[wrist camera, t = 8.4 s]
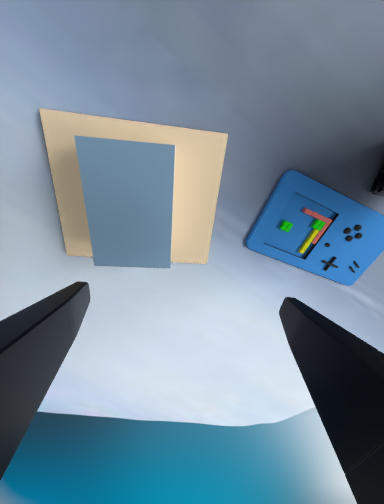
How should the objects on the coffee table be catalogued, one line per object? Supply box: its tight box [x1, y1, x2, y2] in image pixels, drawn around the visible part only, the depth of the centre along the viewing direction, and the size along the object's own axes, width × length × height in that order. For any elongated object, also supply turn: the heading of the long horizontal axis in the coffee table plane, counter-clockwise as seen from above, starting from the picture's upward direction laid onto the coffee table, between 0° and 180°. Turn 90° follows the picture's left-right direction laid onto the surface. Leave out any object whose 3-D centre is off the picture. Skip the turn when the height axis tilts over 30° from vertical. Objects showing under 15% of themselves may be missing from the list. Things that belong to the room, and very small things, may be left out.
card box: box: [74, 135, 176, 268], centre depth 16 cm, size 9×6×4 cm, turn 175°
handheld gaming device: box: [246, 170, 384, 286], centre depth 21 cm, size 8×1×15 cm
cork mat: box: [39, 108, 228, 264], centre depth 18 cm, size 14×12×1 cm
